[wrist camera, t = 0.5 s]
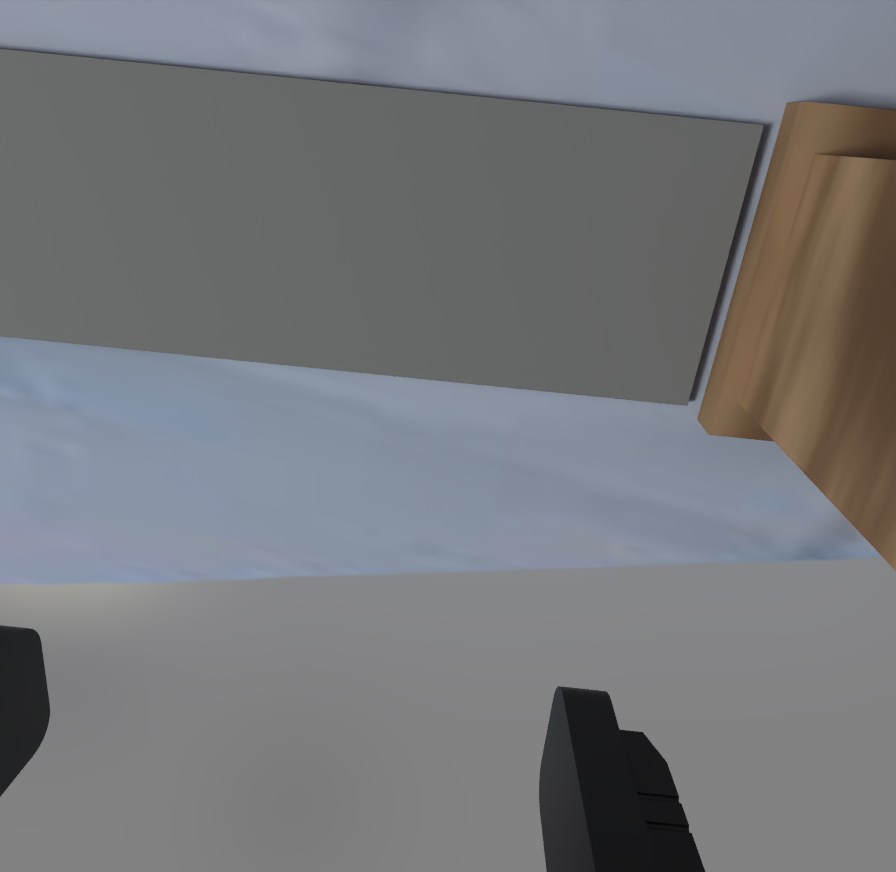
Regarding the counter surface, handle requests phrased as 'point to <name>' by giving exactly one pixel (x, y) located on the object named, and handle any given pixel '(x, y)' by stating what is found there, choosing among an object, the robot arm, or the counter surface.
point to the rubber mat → (363, 226)
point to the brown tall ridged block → (820, 314)
